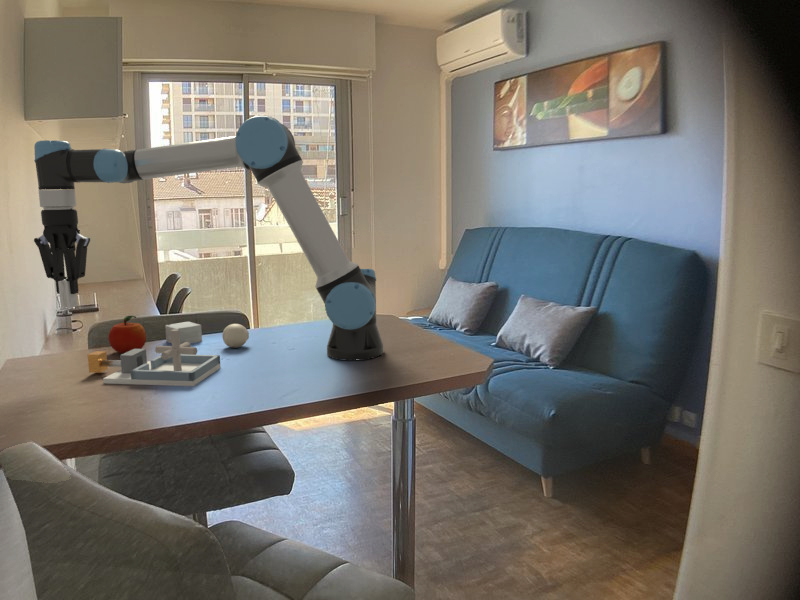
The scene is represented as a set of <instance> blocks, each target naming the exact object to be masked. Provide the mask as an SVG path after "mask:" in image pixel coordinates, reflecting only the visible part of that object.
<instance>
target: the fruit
mask: <svg viewBox="0 0 800 600" xmlns="http://www.w3.org/2000/svg"><path fill="white" fill-rule="evenodd" d="M133 318H134V319H136V318H137V316H135V315H127V316H125V317H124V318H123V322H120V323H117V324H114V325H113V326H112V327H111V329H110V330H109V333H108V343H109V345H110V346H111V348H112V349H113V350H114V351H115V352H116V353H120V354H121V355H122V354H124V353H126V352H128V351H130V350H133V349H143V347H144V346H145V345H146V341H147V334H146V330H145V328H144V326H143V325H141V323H137V322H129V321H130V320H131V319H133Z"/></svg>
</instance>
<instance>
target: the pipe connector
mask: <svg viewBox="0 0 800 600" xmlns="http://www.w3.org/2000/svg"><path fill="white" fill-rule="evenodd" d="M171 341H172V343H171V345H156V346H155V348H154V352H155V353H156V354H160V355H161V357H162V359H164V360H167V359H169V358H171V357H173V367H174V371H182V366H181V354H186V355H198V348H197V347H195V346H194V347H192V346H191V345H192V344H191V343H189V342H185V343H183V344H181V345H180V339H179V330H178V329H174V330H171Z"/></svg>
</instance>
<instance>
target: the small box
mask: <svg viewBox="0 0 800 600" xmlns="http://www.w3.org/2000/svg"><path fill="white" fill-rule="evenodd" d="M164 326H165V340H166V342H167V343H170V344H172V341H171V330H174V329H178V330H179V339H180V345H181V344H183V343H185V342H189V343H190V344H193V343H200V342H203V335H202V334H203V333H202V325H201V324H199V323H195V322H191V321H182V322H178V323H177V322H176V323H170V324H165V325H164Z"/></svg>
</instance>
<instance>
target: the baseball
mask: <svg viewBox="0 0 800 600" xmlns="http://www.w3.org/2000/svg"><path fill="white" fill-rule="evenodd" d="M249 339H250V333H249V330H248V329H247V328H246V327H245V326H244V325H242V324H240V323H230V324H229V325H227V326H226V327H224V329H223V332H222V340H223V343H224V344H225V345H226V346H228V347H229V348H235V349H237V348H240V347H243V346H244V345H245V344H246V343H247V341H248V340H249Z"/></svg>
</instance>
